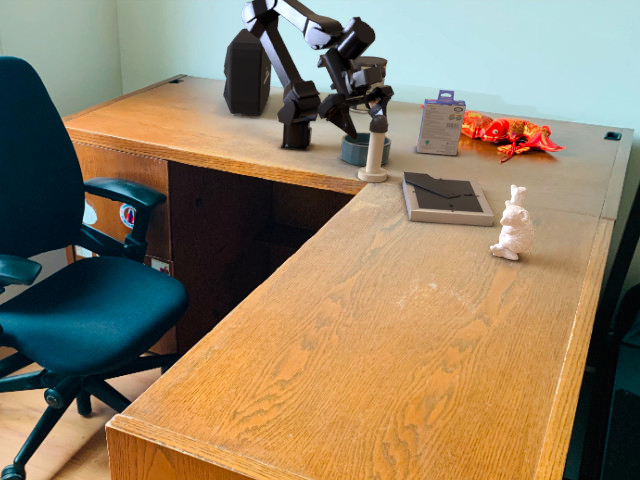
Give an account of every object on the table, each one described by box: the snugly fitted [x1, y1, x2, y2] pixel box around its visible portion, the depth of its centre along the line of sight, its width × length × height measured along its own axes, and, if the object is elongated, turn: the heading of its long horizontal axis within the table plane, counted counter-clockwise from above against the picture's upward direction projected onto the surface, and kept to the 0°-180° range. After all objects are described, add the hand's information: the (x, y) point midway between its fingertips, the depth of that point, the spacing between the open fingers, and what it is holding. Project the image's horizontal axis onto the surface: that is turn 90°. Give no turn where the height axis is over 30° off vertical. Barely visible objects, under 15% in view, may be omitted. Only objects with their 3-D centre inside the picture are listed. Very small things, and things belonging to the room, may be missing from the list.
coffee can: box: [349, 55, 389, 114], centre depth 198 cm, size 10×10×14 cm
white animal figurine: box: [489, 184, 536, 261], centre depth 115 cm, size 8×7×12 cm
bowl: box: [339, 131, 392, 167], centre depth 160 cm, size 12×12×5 cm
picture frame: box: [401, 171, 495, 227], centre depth 138 cm, size 16×3×21 cm
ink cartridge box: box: [416, 89, 467, 156], centre depth 164 cm, size 10×6×14 cm, turn 79°
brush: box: [357, 114, 389, 183], centre depth 147 cm, size 6×6×14 cm
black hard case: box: [222, 27, 272, 116], centre depth 197 cm, size 30×12×20 cm, turn 172°
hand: (371, 135), depth 147 cm, fingers open, 9 cm apart
